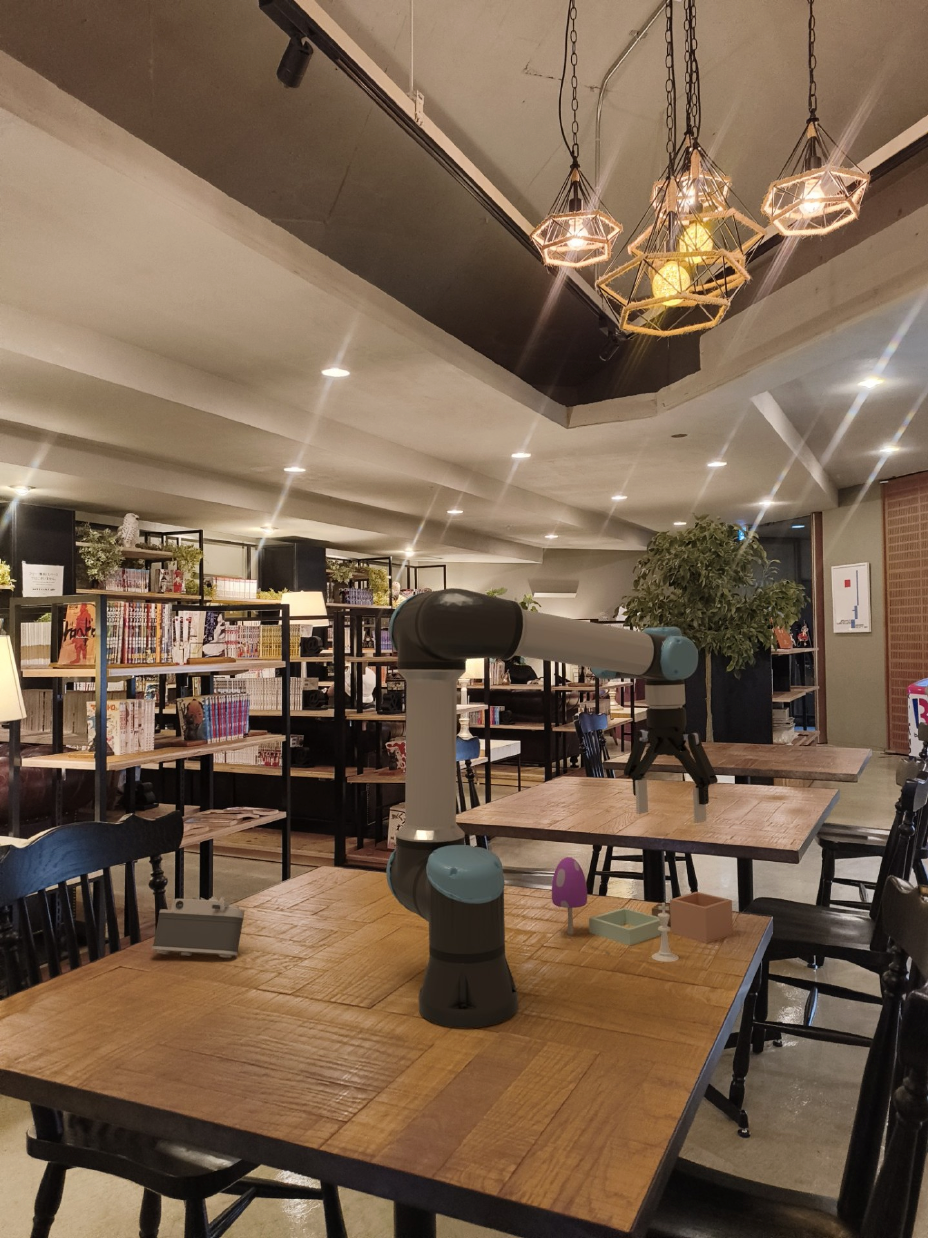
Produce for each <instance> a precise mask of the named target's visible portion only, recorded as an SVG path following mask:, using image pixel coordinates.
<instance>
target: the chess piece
mask: <svg viewBox="0 0 928 1238" xmlns="http://www.w3.org/2000/svg"><path fill="white" fill-rule="evenodd" d="M661 904H662V907H661V906H659V910H662V913H659V914H658V918H659V920H660V923H661V926H660V927H658V930H660V931H662V933H661V935H660V947H659V950H657V952H656V953H653V954H652V955H651V958H652V959H653V960H656V961H659V962H665V963H666V962H667V963H668V962H675V961H678V960H679V955H677V954H676V953H672V951H671V949H670V943H669V937H668V932H671V927H668V926H667V924H668V920H669V917H670V915H669V914H668V913H665V910H669V907H665V904H666V903H665V902H662V903H661Z"/></svg>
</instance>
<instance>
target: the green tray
mask: <svg viewBox="0 0 928 1238" xmlns="http://www.w3.org/2000/svg"><path fill="white" fill-rule="evenodd" d="M588 923H589V924H588V926H589V927H588V928H589V930H588V931H589V934H592V935H596V936H599V937H601V938H605V939H608V940H612V941H614V942H617V943H621V944H624V945H626V946H633V945H636V944H639V943H642V942H645V941H648V940H651V939H655V938H656V937H659V936H660V937H661V933H662V931H660V930H658V927H660V926H661V923H660V920H659V918H658V917H656V916H653V915H652V914H648V913H644V912H643V911H639V910H635V909H632V908H631V909H630V908H628V907H622V908H618V909H615V910H611V911H608V912H604V913H602V914H598V915H595V916H591V917H589V918H588ZM625 924H626V925H629V926H631V927H627V926H623V925H625Z"/></svg>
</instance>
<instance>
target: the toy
mask: <svg viewBox="0 0 928 1238" xmlns="http://www.w3.org/2000/svg"><path fill="white" fill-rule="evenodd" d="M551 900H552V904H553V905H554V906H556V907H559V908H566V909H567V934H568V935H569V936H570V935H571V936H572V935H574V932H575V931H574V919H573V909H574V908H575V909H576V908H581V907H584V906H586V905H587V904H588V888H587V880H586V875H585V873H584V871H583V869H582V867H581V865H580V863H579V862H578V861H577V860H576V859H575V858H573V857H572V856H571V857H569V856H567V857H563V858H562V859H561V860H560V861H559V862H558V864H557V866H556V868H555V870H554V873H553V876H552V881H551ZM569 939H571V938H570V937H569Z"/></svg>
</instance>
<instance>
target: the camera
mask: <svg viewBox="0 0 928 1238" xmlns="http://www.w3.org/2000/svg"><path fill="white" fill-rule="evenodd" d="M158 913H159V914H158V920H157V925H156V930H155V934H154V939H153V943H152V946H151V950H152V951H156V954H161V955H169V954H170V953H180V956H184V957H192V956H193V954H196V955H197V954H201V955H212V956H213V955H215V956H219V958H223V959H232V957H237V956H238V955H239V953H238V951H239V947H240V946H239V945H240V940H241V936H242V935H241V934H242V928H243V923H244V918H245V917H244V916H245V910H244V909H241V908H240V907H239V905H238V904H237V905H236V904H231V903H230V902H227V901H226V898H225V897H224V896H221V897H220V898H219V899H218V897H217V896H211V898H208V899H205V898H203V897H200V899H198V898H196V897H193V896H192V897H191V898H175V899H172V901H171V908H170V909H163V908H162V909H159V912H158Z"/></svg>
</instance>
